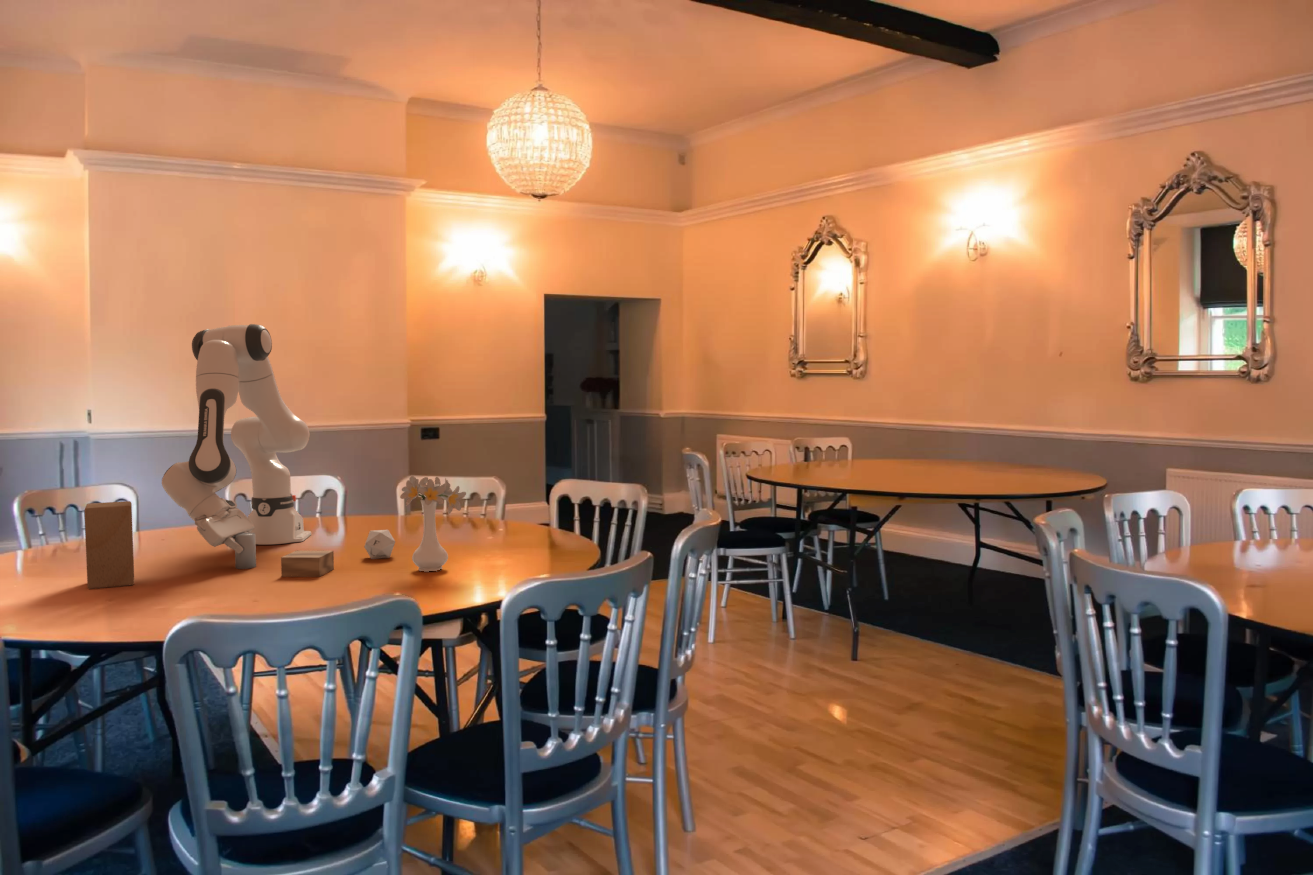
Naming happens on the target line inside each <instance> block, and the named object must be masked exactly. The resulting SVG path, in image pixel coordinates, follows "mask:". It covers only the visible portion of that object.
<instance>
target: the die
mask: <svg viewBox="0 0 1313 875" xmlns="http://www.w3.org/2000/svg"><path fill="white" fill-rule="evenodd" d="M395 543H396V540H395V538H394V537H393V535H392V534H391V532H390V530H389V529H377V530H369V533H368V536H367V538H366V540H365V543H364V549H365V550H366V553H367V555H368V556H369V558H370V559H371V560H375V559H376V560H377V559H389V558H391V555H392V553H393V549H394V547H395Z"/></svg>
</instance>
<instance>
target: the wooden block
mask: <svg viewBox="0 0 1313 875" xmlns="http://www.w3.org/2000/svg"><path fill="white" fill-rule="evenodd" d="M132 506H133V505H132V501H127V500H125V501H109V502H107V501H106V502H89V503H87V504H86V506H85V508H84V510H83V511H84V529H85V530H84V531H85V532H84V533H85V555H86V556H85V558H86V559H85V561H86V580H87V581H86V583H87V584H86V585H87V589H88V590H95V589H94V588H97V589H104V588H105V587H108V588H116V587H127V586H128V587H129V586H133V585H134V584H135V567H134V566H135V565H134V564H135V563H134V562H135V559H134V534H133V533H134V532H133V507H132ZM105 589H106V588H105Z"/></svg>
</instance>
